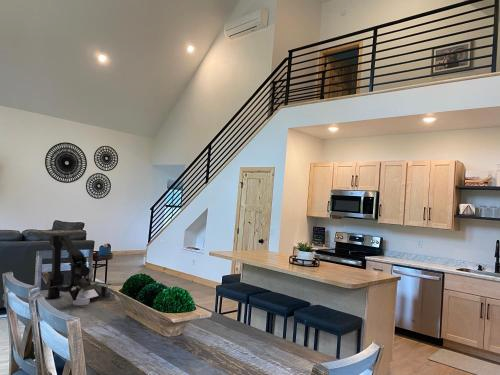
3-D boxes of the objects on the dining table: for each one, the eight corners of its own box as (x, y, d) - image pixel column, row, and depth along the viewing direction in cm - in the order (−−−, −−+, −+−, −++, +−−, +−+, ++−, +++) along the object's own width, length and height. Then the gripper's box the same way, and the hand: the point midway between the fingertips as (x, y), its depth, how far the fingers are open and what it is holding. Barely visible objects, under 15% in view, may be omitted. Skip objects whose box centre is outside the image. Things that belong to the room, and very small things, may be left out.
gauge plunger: (82, 295, 230) (82, 282, 230) (90, 293, 236) (90, 280, 236) (104, 299, 223) (105, 285, 224) (111, 297, 229) (112, 283, 230)
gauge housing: (82, 296, 233) (83, 283, 233) (87, 294, 237) (88, 281, 237) (110, 300, 225) (110, 287, 225) (114, 299, 228) (115, 285, 229)
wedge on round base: (88, 298, 228) (70, 303, 216) (89, 288, 228) (70, 292, 217) (98, 301, 224) (79, 306, 212) (98, 290, 224) (80, 294, 212)
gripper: (73, 278, 202) (71, 306, 201) (98, 272, 219) (96, 298, 219) (58, 276, 206) (57, 303, 205) (84, 270, 223) (82, 295, 223)
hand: (74, 300), depth 213 cm, fingers closed
